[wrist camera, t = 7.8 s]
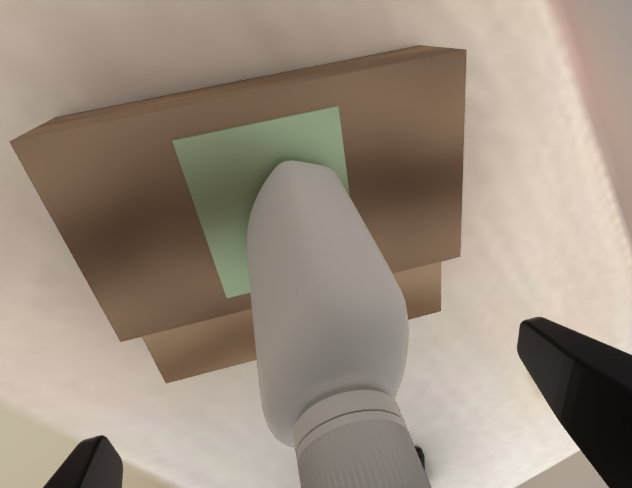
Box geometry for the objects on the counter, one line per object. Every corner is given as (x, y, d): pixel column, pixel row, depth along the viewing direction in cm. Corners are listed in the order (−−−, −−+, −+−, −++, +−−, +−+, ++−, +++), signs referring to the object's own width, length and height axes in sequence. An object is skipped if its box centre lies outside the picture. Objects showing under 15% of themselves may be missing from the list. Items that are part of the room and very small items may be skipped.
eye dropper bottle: (376, 204, 16) (609, 555, 6) (284, 291, 18) (361, 674, 8) (299, 136, 14) (479, 516, 4) (202, 242, 16) (171, 692, 6)
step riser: (426, 291, 25) (459, 335, 21) (170, 357, 23) (160, 416, 20) (420, 45, 18) (468, 50, 14) (55, 117, 16) (7, 142, 13)
